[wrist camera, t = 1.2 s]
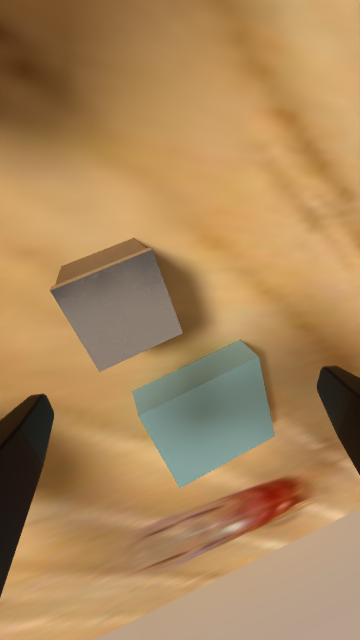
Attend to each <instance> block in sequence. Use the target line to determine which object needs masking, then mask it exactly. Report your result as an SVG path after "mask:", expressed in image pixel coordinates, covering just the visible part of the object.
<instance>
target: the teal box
mask: <svg viewBox="0 0 360 640" xmlns="http://www.w3.org/2000/svg"><path fill="white" fill-rule="evenodd" d="M132 392H133V396H134V400H135V404H136V408H137V412H138V416H139V418H140V419H141V421H142V423H143V425H144V426H145V428H146V430H147V432H148V433H149V435H150V437H151V439H152V440H153V442H154V444H155V446H156V447H157V449H158V451H159V453H160V454H161V456H162V458H163V460H164V461H165V463H166V465H167V467H168V468H169V470H170V472H171V474H172V475H173V477H174V479H175V481H176V482H177V484H178V486H179V488H181V487H183V486H185V485H187V484H189V483H190V482H192V481H194V480H196V479H198V478H200V477H201V476H203V475H205V474H207V473H209V472H210V471H212V470H214V469H216V468H218V467H220V466H221V465H223V464H225V463H227V462H229V461H230V460H232V459H234V458H236V457H238V456H240V455H241V454H243V453H245V452H247V451H249V450H250V449H252V448H254V447H256V446H258V445H260V444H261V443H263V442H265V441H267V440H269V439H270V438H272V437H274V436H275V435H274V430H273V425H272V420H271V415H270V410H269V405H268V400H267V395H266V390H265V385H264V380H263V375H262V370H261V365H260V360H259V356H258V355H257V354H256V353H254V352H253V351H252V350H251V349H250V348H249V347H248V346H247V345H245V344H244V343H243V342H242V341H241V340H238V341H236V342H234V343H232V344H230V345H228V346H226V347H224V348H222V349H220V350H218V351H216V352H214V353H211V354H209V355H207V356H205V357H203V358H201V359H199V360H197V361H195V362H193V363H191V364H189V365H187V366H184V367H182V368H180V369H178V370H176V371H174V372H172V373H170V374H168V375H166V376H164V377H162V378H159V379H157V380H155V381H153V382H151V383H149V384H147V385H145V386H143V387H141V388H139V389H137V390H135V391H132Z"/></svg>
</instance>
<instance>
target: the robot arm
mask: <svg viewBox="0 0 360 640" xmlns="http://www.w3.org/2000/svg"><path fill="white" fill-rule="evenodd" d="M317 390H318V393H319V396H320V398H321V400H322V402H323V405H324V407H325V409H326V411H327V414H328V416H329V418H330V421H331V423H332V425H333V427H334V429H335V432H336V434H337V436H338V438H339V439H340V441H341V443H342V445H343V447H344V448H345V450H346V452H347V454H348V455H349V457H350V459H351V461H352V462H353V464H354V466H355V468H356V469H357V471H358V473H359V475H360V378H359V377H357V376H355V375H353V374H351V373H349V372H347V371H346V370H344V369H342V368H340V367H338V366H334V365H333V366H324V367H322V369H321V371H320V375H319V379H318V382H317ZM53 420H54V411H53V409H52V407H51V404H50V402H49V400H48V398H47V396H46V395H45V394H36V395H31V396H29V397H28V398H27V399H26V400H24V401H23V402H22V403H21V404H19V405H18V406H17V407H16V408H15V409H13V410H12V411H11V412H10V413H9V414H7V415H6V416H5V417H4V418H3V419H1V420H0V597H1V594H2V591H3V587H4V584H5V581H6V578H7V575H8V572H9V569H10V566H11V563H12V560H13V557H14V554H15V551H16V548H17V545H18V542H19V539H20V536H21V533H22V530H23V527H24V523H25V520H26V517H27V514H28V511H29V508H30V505H31V502H32V499H33V496H34V493H35V490H36V487H37V484H38V481H39V478H40V475H41V472H42V468H43V465H44V461H45V457H46V452H47V447H48V443H49V438H50V433H51V429H52V424H53Z"/></svg>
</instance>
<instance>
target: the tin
mask: <svg viewBox="0 0 360 640" xmlns="http://www.w3.org/2000/svg"><path fill="white" fill-rule="evenodd" d="M50 291H51V293H52V294H53V296H54V298H55V299H56V301H57V303H58V304H59V306H60V308H61V309H62V311H63V312H64V314H65V316H66V317H67V319H68V321H69V322H70V324H71V326H72V327H73V329H74V331H75V332H76V334H77V336H78V337H79V339H80V340H81V342H82V344H83V345H84V347H85V349H86V350H87V352H88V354H89V355H90V357H91V359H92V360H93V362H94V363H95V365H96V367H97V368H98V370H99V372H100V371H102V370H105V369H107V368H109V367H111V366H113V365H115V364H118V363H120V362H122V361H124V360H126V359H128V358H131V357H133V356H135V355H137V354H139V353H141V352H144V351H146V350H148V349H150V348H152V347H154V346H157V345H159V344H161V343H163V342H165V341H167V340H170V339H172V338H174V337H176V336H178V335H180V334H183V332H182V329H181V326H180V324H179V321H178V318H177V315H176V313H175V310H174V307H173V304H172V302H171V299H170V296H169V293H168V291H167V288H166V285H165V282H164V280H163V277H162V274H161V271H160V269H159V266H158V263H157V260H156V258H155V255H154V252H153V249H151V248H150V247H149V248H146V247H145V246H143V245H142V244H141V243H139V242H138V241H137V240H136V239H134V238H132V239H130V240H127V241H125V242H122V243H120V244H117V245H115V246H112V247H110V248H107V249H104V250H102V251H99V252H97V253H94V254H92V255H89V256H87V257H84V258H82V259H79V260H77V261H74V262H71V263H69V264H66V265H64V266H61V269H60V272H59V275H58V278H57V281H56V284H55V286H53V287H51V289H50Z"/></svg>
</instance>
